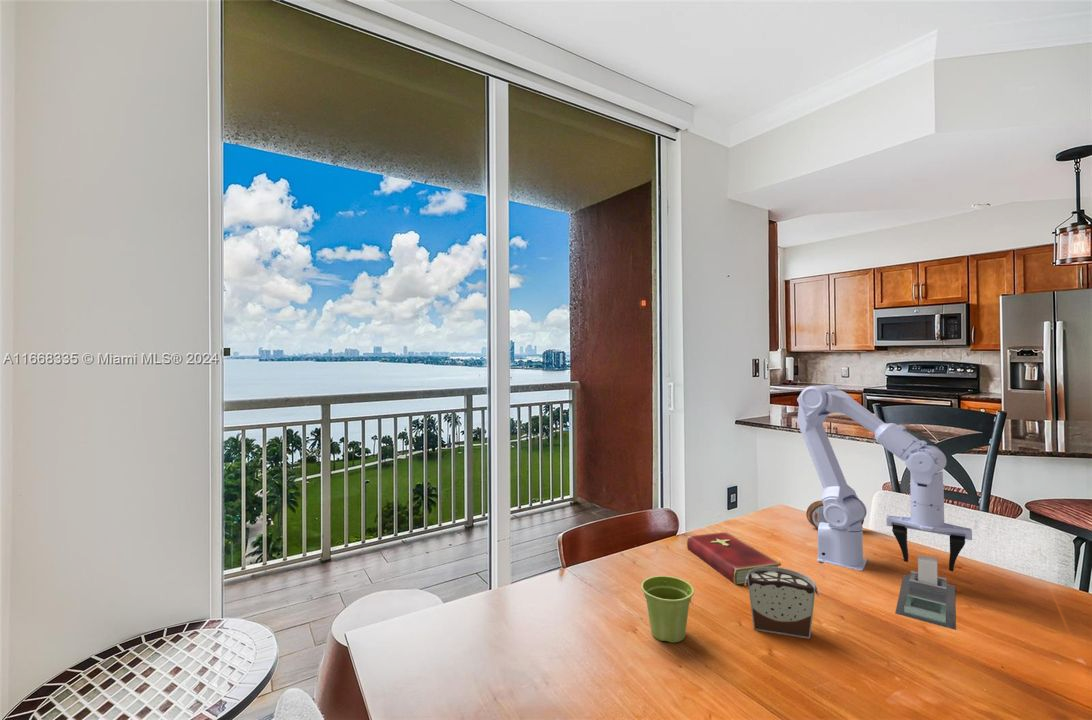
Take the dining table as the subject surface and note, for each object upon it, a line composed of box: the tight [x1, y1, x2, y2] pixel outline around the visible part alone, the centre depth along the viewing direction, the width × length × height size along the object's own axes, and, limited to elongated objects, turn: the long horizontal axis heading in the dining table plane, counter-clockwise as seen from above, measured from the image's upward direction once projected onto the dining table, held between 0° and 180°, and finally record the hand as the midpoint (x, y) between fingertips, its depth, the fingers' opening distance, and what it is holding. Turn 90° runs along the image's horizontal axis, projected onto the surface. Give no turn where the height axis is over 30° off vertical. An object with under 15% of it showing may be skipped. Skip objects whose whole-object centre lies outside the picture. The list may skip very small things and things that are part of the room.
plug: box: [917, 554, 938, 586], centre depth 104 cm, size 3×4×6 cm
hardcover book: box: [686, 531, 782, 586], centre depth 118 cm, size 12×21×4 cm, turn 13°
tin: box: [805, 500, 865, 530], centre depth 140 cm, size 15×3×8 cm, turn 82°
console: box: [894, 570, 957, 631], centre depth 99 cm, size 9×22×2 cm, turn 140°
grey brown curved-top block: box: [744, 566, 820, 639], centre depth 90 cm, size 12×6×10 cm, turn 71°
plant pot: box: [640, 575, 695, 644], centre depth 88 cm, size 9×9×9 cm
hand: (928, 564), depth 104 cm, fingers open, 7 cm apart
